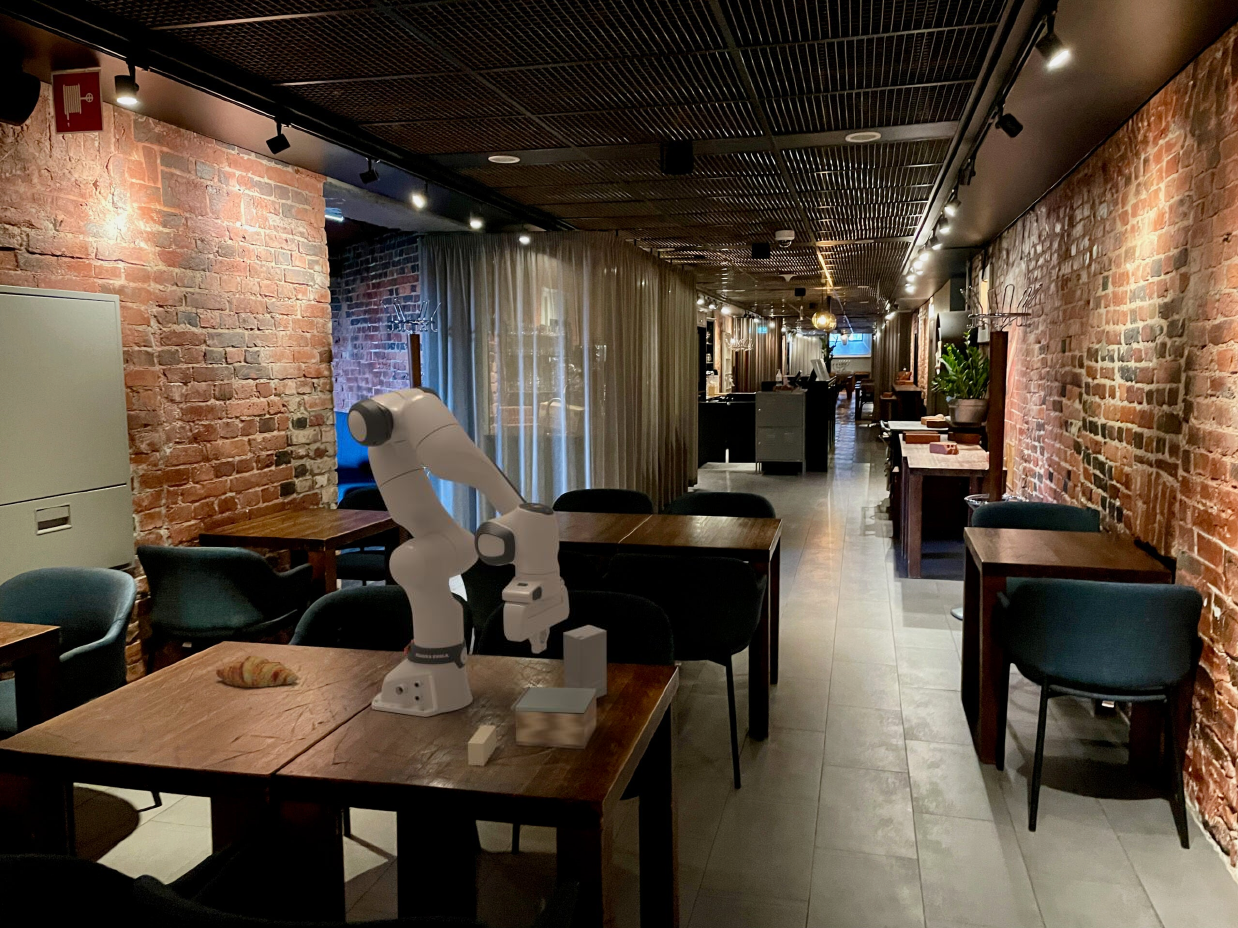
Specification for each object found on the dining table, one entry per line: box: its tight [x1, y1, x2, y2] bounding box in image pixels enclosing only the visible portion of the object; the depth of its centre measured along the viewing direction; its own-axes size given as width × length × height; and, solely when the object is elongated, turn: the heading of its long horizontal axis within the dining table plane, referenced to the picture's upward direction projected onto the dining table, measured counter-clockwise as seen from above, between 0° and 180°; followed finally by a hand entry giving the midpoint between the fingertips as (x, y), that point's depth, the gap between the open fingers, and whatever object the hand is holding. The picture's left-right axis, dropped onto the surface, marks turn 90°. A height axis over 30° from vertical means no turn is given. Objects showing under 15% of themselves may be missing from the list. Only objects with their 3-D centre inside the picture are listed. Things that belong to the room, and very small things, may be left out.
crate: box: [514, 694, 598, 750], centre depth 189 cm, size 14×12×7 cm
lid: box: [509, 686, 596, 713], centre depth 188 cm, size 15×12×1 cm
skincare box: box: [562, 624, 608, 699], centre depth 211 cm, size 8×7×16 cm
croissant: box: [215, 655, 299, 688], centre depth 224 cm, size 21×10×8 cm, turn 83°
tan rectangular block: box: [467, 724, 498, 767], centre depth 179 cm, size 3×9×4 cm, turn 172°
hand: (539, 651), depth 186 cm, fingers closed
